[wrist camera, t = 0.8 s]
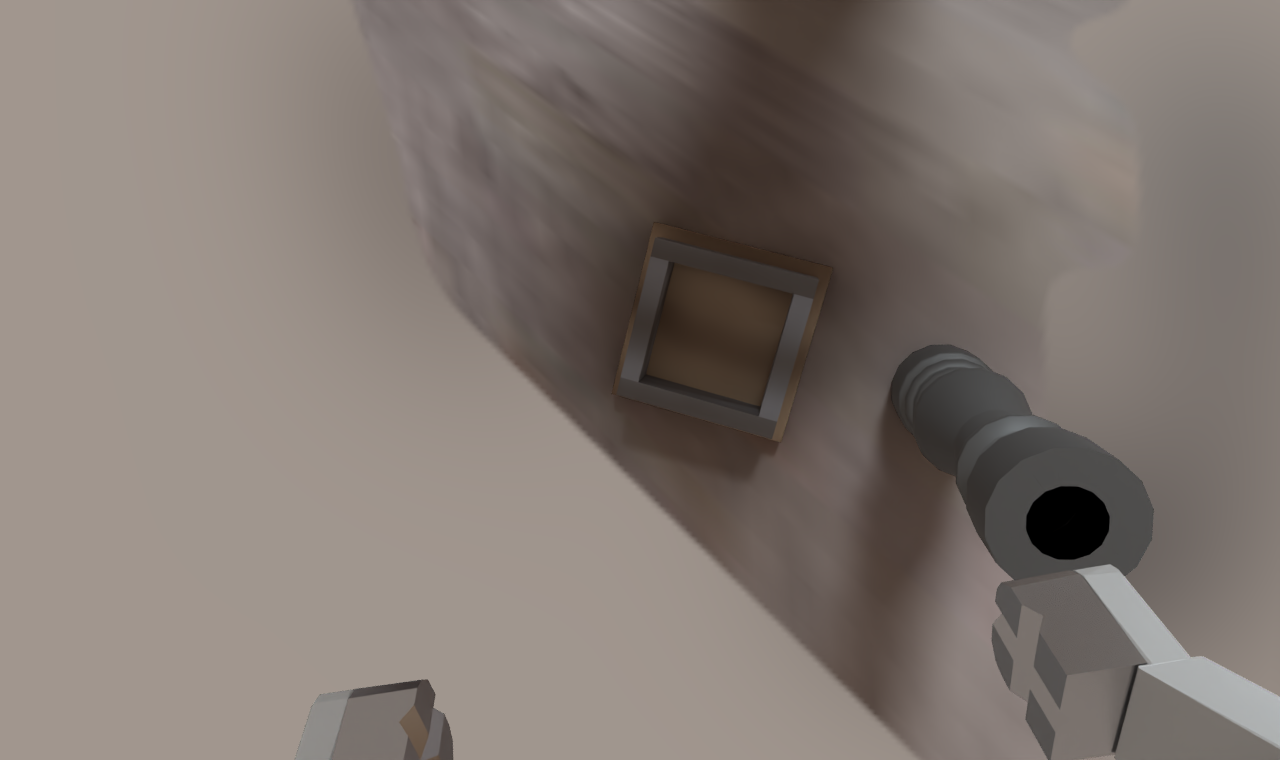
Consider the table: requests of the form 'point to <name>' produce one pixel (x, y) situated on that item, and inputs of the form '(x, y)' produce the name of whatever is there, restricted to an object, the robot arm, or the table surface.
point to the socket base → (720, 330)
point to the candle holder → (1021, 469)
